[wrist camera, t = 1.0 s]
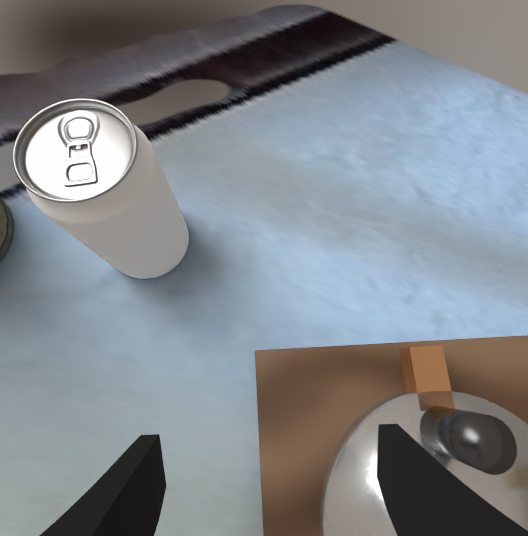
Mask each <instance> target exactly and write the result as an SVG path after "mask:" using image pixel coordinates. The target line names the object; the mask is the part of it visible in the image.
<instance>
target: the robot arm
mask: <svg viewBox="0 0 528 536" xmlns="http://www.w3.org/2000/svg"><path fill="white" fill-rule="evenodd" d="M376 476H377V480H378V483H379V487H380V490H381V493H382V497H383V500H384V503H385V506H386V509H387V512H388V515H389V517H390V519H391V522H392V524H393V527H394V529H395V531H396V534H397V536H528V531H527V530H526V529H524V528H523V527H521V526H520V525H519V524H517V523H516V522H514V521H513V520H512V519H510V518H509V517H507V516H506V515H504V514H503V513H502V512H500V511H499V510H497V509H496V508H495V507H493V506H492V505H491V504H489V503H488V502H487V501H486V500H484V499H483V498H482V497H480V496H479V495H478V494H477V493H475V492H474V491H473V490H472V489H470V488H469V487H468V486H467V485H465V484H464V483H463V482H462V481H461V480H459V479H458V478H457V477H456V476H455V475H453V474H452V473H451V472H450V471H449V470H448V469H446V468H445V467H444V466H443V465H442V464H441V463H440V462H438V461H437V460H436V459H435V458H434V457H433V456H432V455H431V454H430V453H428V452H427V451H426V450H425V449H424V448H423V447H422V446H421V445H420V444H419V443H418V442H417V441H415V440H414V439H413V438H412V437H411V436H410V435H409V434H408V433H407V432H406V431H405V430H404V429H403V428H401V427H400V426H399V425H398V424H379V426H378V450H377V475H376ZM165 489H166V480H165V473H164V466H163V459H162V451H161V444H160V437H159V434H157V435H141V436H140V437H139V438H138V439H137V440H136V441H135V442H134V443H133V444H132V445H131V446H130V447H129V448H128V449H127V450H126V451H125V452H124V453H123V455H122V456H121V457H120V458H119V459H118V460H117V461H116V462H115V463H114V464H113V465H112V466H111V467H110V468H109V470H108V471H107V472H106V473H105V474H104V475H103V476H102V477H101V478H100V479H99V480H98V481H97V482H96V483H95V484H94V485H93V486H92V487H91V488H90V489H89V490H88V491H87V492H86V493H85V494H84V495H83V496H82V497H81V498H80V499H79V500H78V501H77V502H76V503H75V504H74V505H73V506H72V507H71V508H70V509H69V510H68V511H66V512H65V513H64V514H63V515H62V516H61V517H60V518H59V519H58V520H57V521H56V522H55V523H53V524H52V525H51V526H50V527H49V528H48V529H47V530H45V531H44V532H43V533H42V534H41V535H40V536H154V533H155V530H156V527H157V524H158V521H159V517H160V512H161V508H162V504H163V499H164V494H165Z"/></svg>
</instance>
